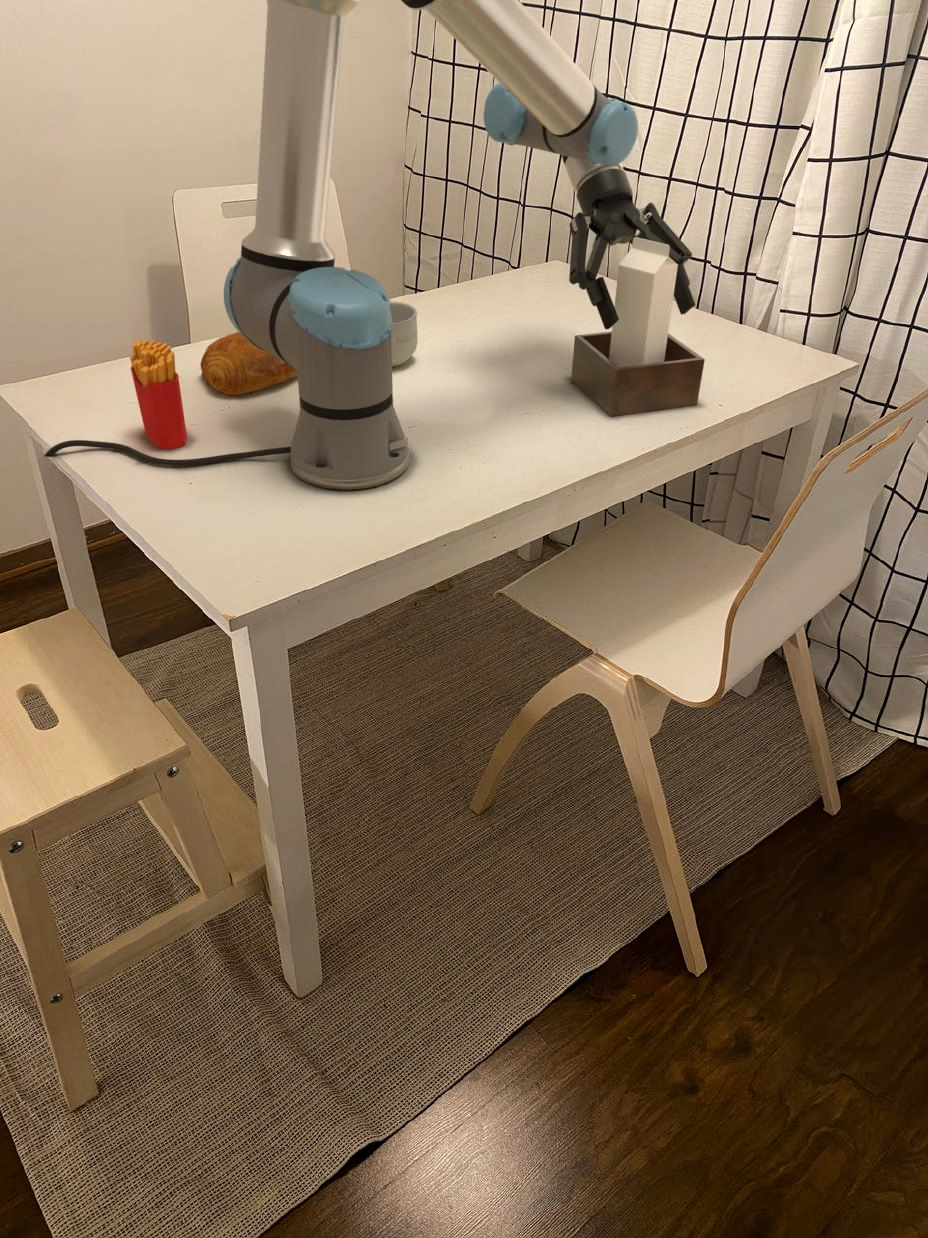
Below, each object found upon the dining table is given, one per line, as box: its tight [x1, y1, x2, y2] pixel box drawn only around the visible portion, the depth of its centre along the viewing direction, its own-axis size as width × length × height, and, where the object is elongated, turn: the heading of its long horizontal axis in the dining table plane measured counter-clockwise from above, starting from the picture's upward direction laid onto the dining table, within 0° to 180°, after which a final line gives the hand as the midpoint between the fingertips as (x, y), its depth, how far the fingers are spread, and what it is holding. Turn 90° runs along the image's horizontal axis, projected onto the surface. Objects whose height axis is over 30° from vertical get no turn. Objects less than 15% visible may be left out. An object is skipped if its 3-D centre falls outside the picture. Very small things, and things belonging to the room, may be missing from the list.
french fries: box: [129, 338, 188, 450], centre depth 126 cm, size 9×4×13 cm, turn 39°
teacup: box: [389, 298, 418, 368], centre depth 153 cm, size 14×11×8 cm
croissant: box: [199, 331, 297, 396], centre depth 146 cm, size 14×16×8 cm
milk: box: [609, 237, 678, 368], centre depth 139 cm, size 6×6×22 cm
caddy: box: [570, 330, 705, 417], centre depth 143 cm, size 14×14×7 cm
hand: (651, 317), depth 137 cm, fingers open, 13 cm apart
